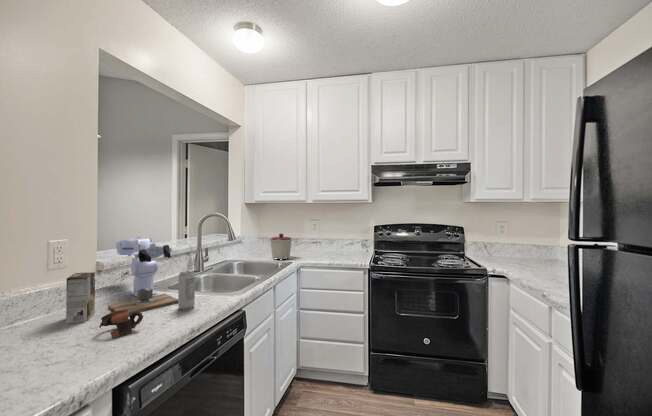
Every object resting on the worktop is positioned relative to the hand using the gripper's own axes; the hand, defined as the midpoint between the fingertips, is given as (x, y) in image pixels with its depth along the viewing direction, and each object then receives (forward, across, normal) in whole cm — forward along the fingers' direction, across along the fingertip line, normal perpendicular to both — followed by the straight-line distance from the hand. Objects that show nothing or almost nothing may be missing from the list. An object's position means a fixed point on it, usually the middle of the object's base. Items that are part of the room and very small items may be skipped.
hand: (160, 257), depth 129 cm
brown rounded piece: (+26, -21, +14) cm, 36 cm away
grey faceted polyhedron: (+1, -7, +16) cm, 18 cm away
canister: (-50, +105, +40) cm, 123 cm away
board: (+1, -7, +19) cm, 20 cm away
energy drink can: (+17, +4, +18) cm, 25 cm away
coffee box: (+1, -28, +17) cm, 33 cm away
